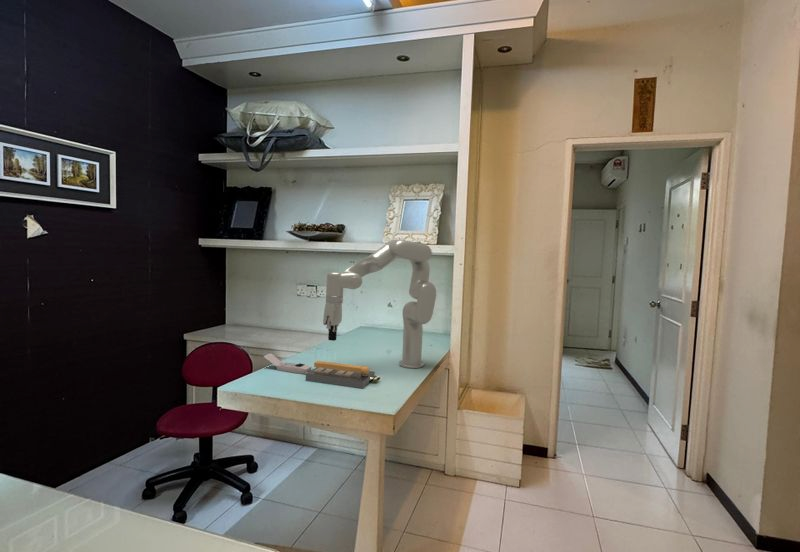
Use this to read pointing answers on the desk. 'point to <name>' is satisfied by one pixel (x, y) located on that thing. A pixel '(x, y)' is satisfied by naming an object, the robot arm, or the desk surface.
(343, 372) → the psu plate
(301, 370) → the pale grey angled bar
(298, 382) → the desk surface
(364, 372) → the orange wooden bar
